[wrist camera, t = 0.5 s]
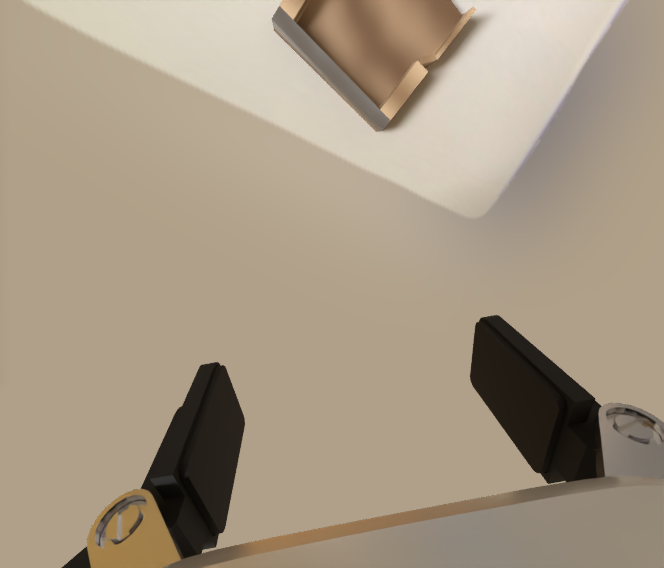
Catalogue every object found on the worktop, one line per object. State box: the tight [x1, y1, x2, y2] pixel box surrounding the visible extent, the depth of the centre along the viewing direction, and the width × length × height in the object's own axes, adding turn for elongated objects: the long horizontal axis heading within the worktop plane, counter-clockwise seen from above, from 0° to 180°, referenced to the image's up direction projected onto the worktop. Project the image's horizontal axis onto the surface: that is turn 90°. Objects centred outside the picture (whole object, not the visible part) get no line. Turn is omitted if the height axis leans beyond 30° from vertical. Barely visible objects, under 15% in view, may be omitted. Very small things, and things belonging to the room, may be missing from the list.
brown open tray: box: [272, 0, 476, 131], centre depth 28 cm, size 13×14×3 cm
